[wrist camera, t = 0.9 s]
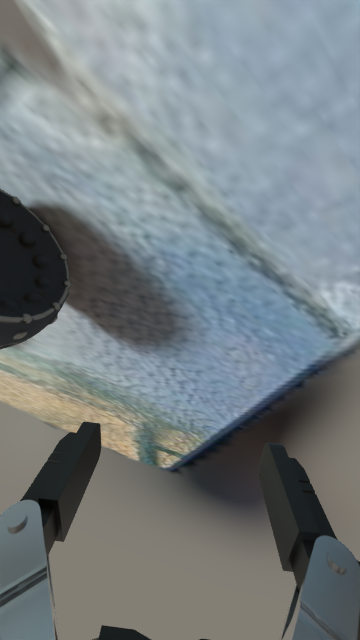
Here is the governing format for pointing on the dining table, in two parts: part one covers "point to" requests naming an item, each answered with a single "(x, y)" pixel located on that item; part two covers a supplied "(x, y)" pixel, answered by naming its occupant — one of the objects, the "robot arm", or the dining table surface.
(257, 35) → the dining table surface
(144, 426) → the dining table surface
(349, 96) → the dining table surface
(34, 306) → the dark grey drum piece
